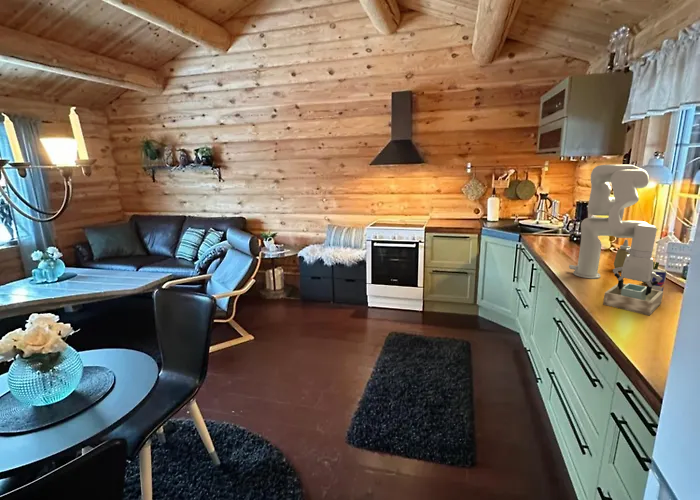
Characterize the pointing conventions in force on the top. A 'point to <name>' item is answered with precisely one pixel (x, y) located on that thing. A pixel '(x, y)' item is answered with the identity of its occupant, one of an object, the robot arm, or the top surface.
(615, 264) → the squeeze bottle
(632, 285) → the small crate
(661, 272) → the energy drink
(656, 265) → the fennel bulb
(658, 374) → the top surface
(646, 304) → the wooden crate
